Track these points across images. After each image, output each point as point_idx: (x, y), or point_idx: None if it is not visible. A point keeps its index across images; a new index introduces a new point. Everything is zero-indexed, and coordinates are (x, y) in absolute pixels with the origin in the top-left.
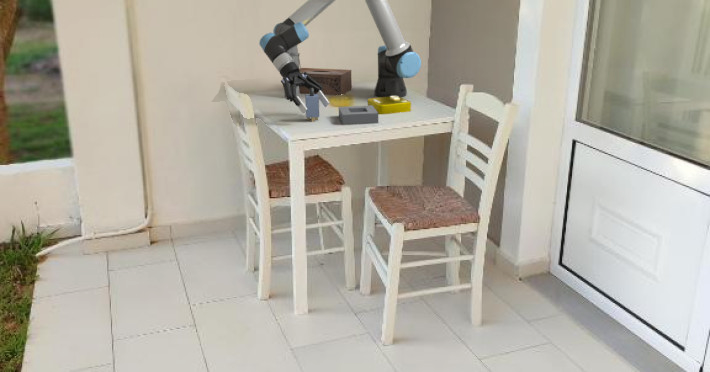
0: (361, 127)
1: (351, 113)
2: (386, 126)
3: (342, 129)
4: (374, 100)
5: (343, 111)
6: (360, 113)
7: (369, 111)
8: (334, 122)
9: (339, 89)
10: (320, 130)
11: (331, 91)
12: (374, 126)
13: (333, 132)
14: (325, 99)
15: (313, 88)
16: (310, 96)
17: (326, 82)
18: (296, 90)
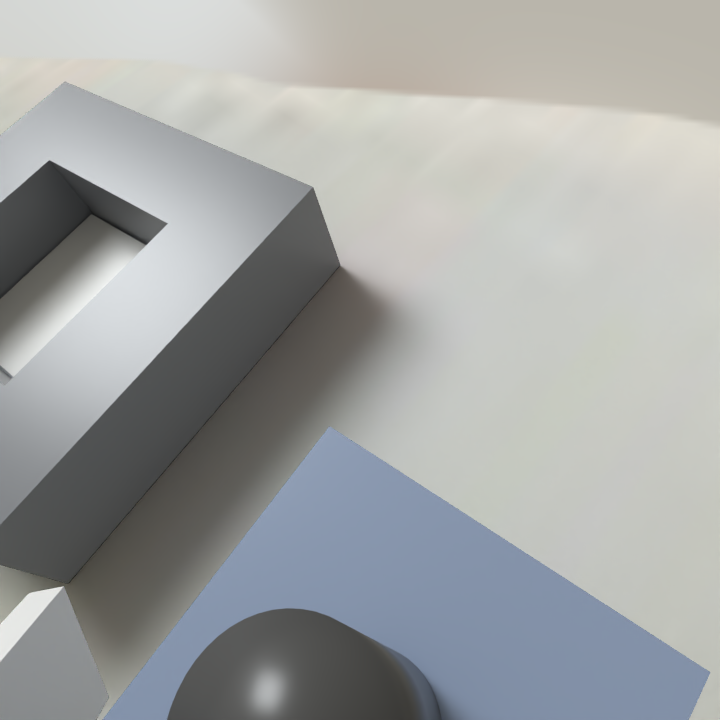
0: (299, 130)
1: (204, 184)
2: (168, 74)
3: (460, 158)
4: None
5: (174, 300)
6: (155, 140)
7: (41, 155)
8: (321, 395)
9: None
10: (666, 235)
11: None
12: (215, 107)
13: (594, 127)
14: (7, 664)
15: (234, 631)
16: (493, 645)
17: None
18: None
